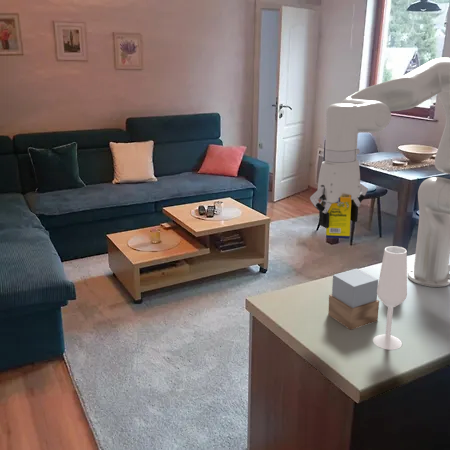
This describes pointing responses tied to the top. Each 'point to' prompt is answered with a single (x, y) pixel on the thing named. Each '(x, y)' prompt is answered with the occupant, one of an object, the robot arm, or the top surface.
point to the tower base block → (353, 313)
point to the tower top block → (354, 287)
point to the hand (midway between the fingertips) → (338, 223)
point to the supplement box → (339, 218)
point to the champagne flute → (392, 291)
